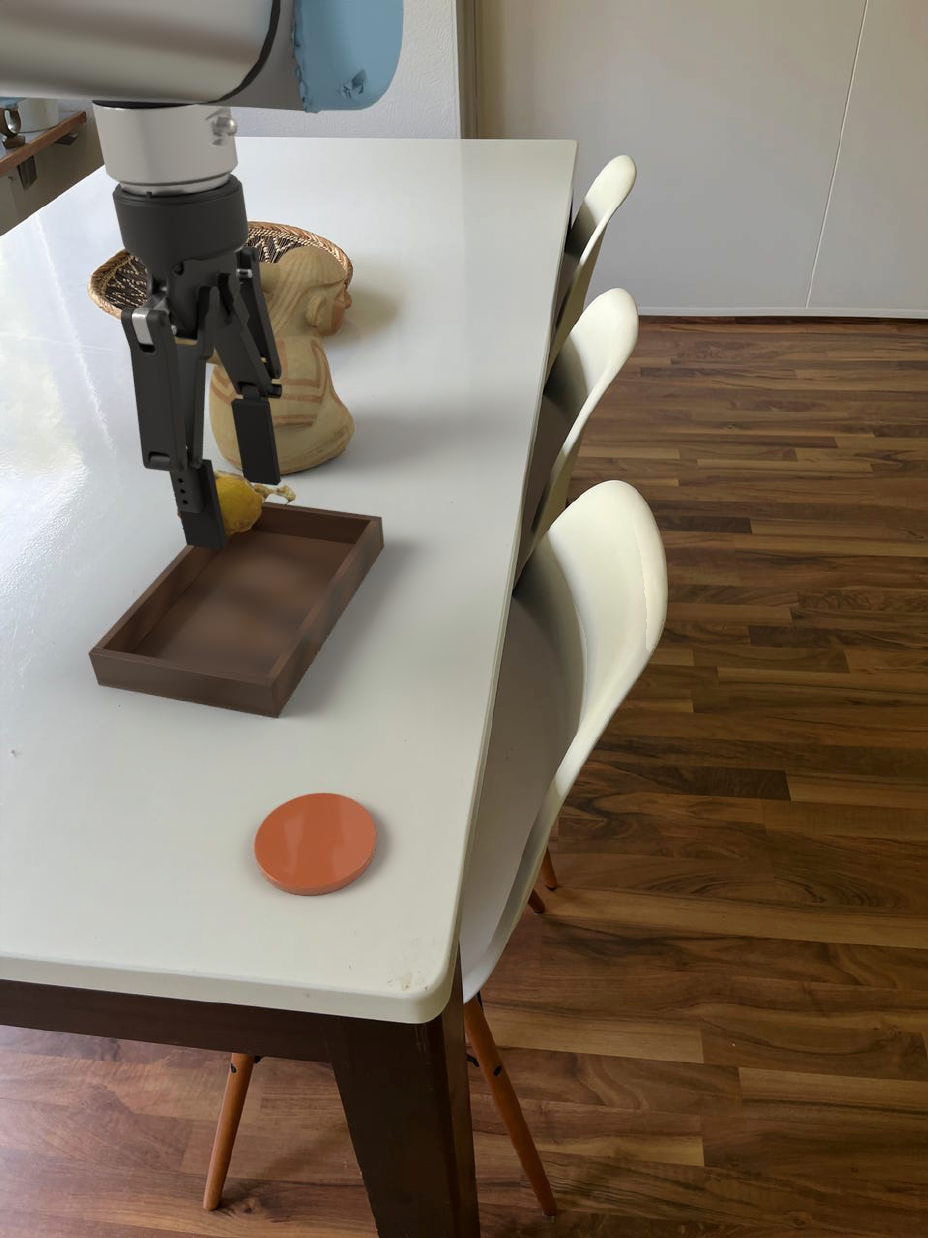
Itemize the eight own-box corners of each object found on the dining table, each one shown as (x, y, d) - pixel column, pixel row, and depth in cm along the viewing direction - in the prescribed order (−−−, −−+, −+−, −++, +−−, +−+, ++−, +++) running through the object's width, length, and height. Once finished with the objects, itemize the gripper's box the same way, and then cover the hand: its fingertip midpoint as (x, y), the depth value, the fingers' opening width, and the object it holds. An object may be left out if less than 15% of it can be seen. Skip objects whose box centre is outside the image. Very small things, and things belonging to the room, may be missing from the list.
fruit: (306, 493, 74) (300, 449, 72) (253, 552, 68) (245, 505, 65) (208, 478, 76) (200, 435, 74) (149, 534, 70) (137, 488, 68)
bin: (277, 718, 75) (271, 685, 73) (98, 684, 79) (87, 652, 77) (384, 546, 94) (381, 516, 92) (235, 525, 98) (230, 496, 96)
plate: (351, 907, 62) (350, 899, 61) (234, 881, 63) (232, 872, 63) (393, 812, 68) (392, 805, 67) (285, 790, 70) (284, 783, 69)
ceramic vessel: (389, 463, 107) (371, 224, 92) (210, 505, 101) (158, 256, 86) (340, 402, 119) (316, 183, 104) (177, 436, 113) (127, 208, 98)
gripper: (139, 232, 49) (216, 602, 63) (305, 142, 65) (337, 450, 79) (9, 224, 51) (111, 585, 64) (202, 137, 67) (251, 440, 81)
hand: (236, 511), depth 72 cm, fingers closed on fruit, 8 cm apart
